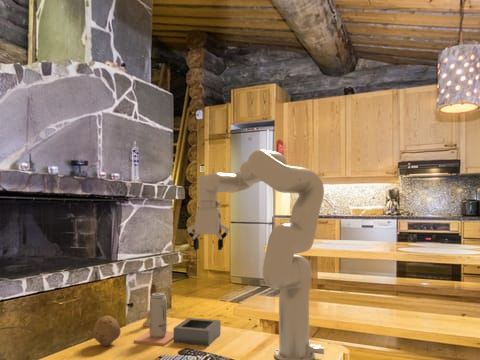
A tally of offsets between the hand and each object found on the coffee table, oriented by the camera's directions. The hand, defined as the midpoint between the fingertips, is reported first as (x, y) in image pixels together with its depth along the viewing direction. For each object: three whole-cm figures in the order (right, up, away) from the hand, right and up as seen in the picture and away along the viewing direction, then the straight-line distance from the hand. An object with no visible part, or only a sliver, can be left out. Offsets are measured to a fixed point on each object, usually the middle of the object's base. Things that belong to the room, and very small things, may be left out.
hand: (208, 249), depth 152 cm
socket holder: (-3, -30, -12) cm, 32 cm away
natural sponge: (-34, -30, -19) cm, 49 cm away
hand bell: (-23, -32, +6) cm, 39 cm away
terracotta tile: (-17, -30, -12) cm, 37 cm away
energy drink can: (-17, -29, -12) cm, 36 cm away
